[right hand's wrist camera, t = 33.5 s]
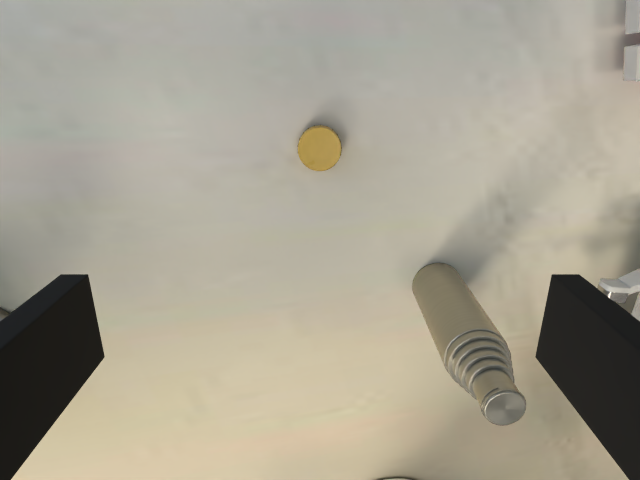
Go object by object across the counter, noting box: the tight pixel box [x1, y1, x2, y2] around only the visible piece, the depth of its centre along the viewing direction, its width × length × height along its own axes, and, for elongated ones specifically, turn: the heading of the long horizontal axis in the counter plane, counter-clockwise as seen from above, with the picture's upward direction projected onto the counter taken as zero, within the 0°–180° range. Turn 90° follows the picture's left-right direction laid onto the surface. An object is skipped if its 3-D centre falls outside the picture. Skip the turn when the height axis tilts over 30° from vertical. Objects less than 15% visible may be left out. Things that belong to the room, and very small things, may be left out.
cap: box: [298, 125, 342, 171], centre depth 42 cm, size 4×4×2 cm
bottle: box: [412, 263, 526, 425], centre depth 39 cm, size 5×5×19 cm
